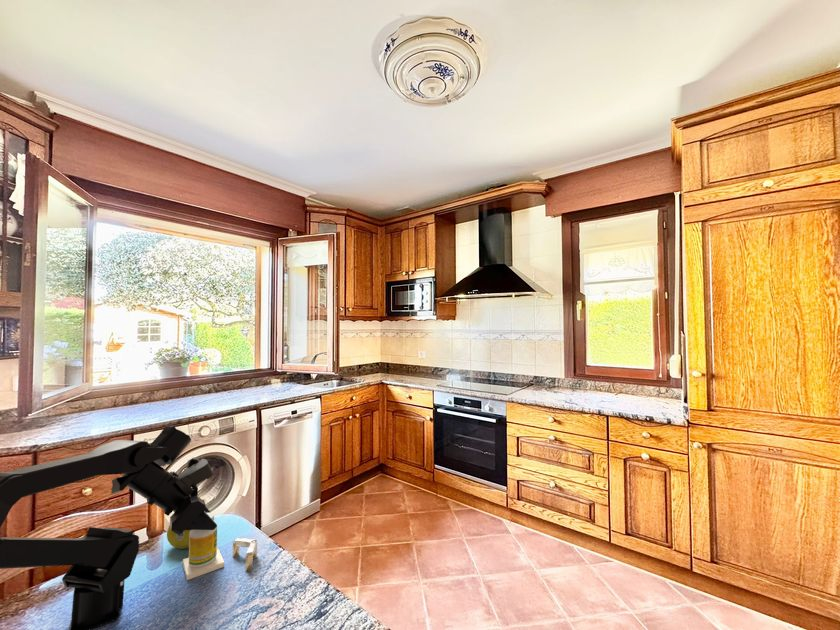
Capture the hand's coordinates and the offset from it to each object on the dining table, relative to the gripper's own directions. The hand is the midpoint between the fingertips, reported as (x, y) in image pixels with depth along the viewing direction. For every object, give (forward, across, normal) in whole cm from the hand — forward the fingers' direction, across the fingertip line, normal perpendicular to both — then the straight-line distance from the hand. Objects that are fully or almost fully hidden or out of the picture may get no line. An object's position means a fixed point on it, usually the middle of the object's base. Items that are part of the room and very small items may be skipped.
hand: (212, 521), depth 79 cm
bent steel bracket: (+11, -4, +2) cm, 12 cm away
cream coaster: (+5, 0, +7) cm, 9 cm away
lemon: (+4, +11, +9) cm, 15 cm away
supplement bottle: (+5, 0, +7) cm, 8 cm away
